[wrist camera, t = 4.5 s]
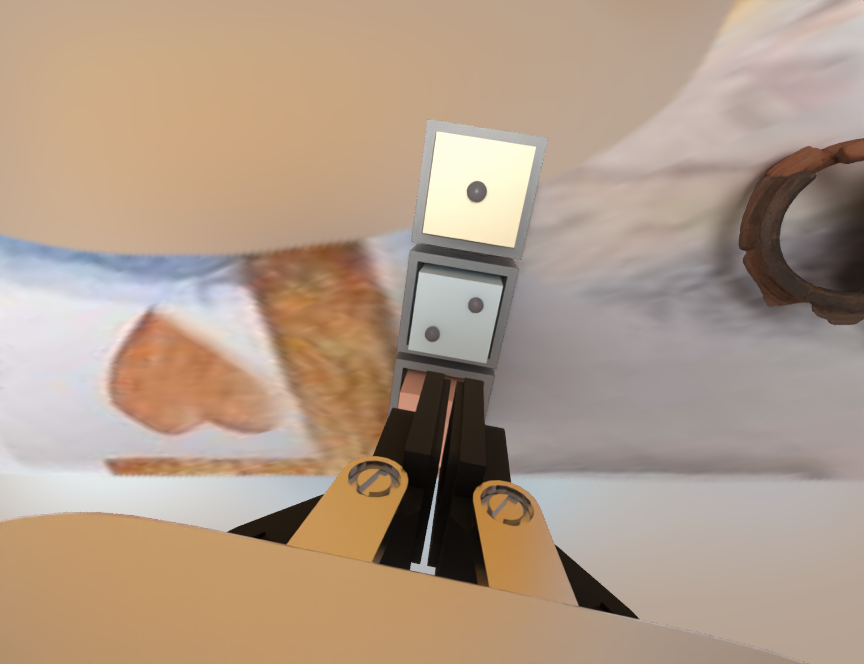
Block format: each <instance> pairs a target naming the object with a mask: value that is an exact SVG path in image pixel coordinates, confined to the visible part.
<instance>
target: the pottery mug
mask: <svg viewBox="0 0 864 664" xmlns="http://www.w3.org/2000/svg"><path fill="white" fill-rule="evenodd" d="M863 160H864V138H862V139H856V140H851V141H847V142H842V143H838V144H835V145H832V146H829V147H827V148H825V149H822V150H820V149H817V148H812V147H810V146H808V147H805V148H803V149H801V150H799V151H797V152H795V153H794V154H792V155H790V156H789V157H787V158H785V159H784V160H782V161H781V162H779V163H778V164H776V165H775V166H773V167H772V168H771V169H770V170H769V171H767V172H766V175H767V176H765V177H764V178H762V179H761V180H760V181H759V182H758V183H757V185H756V187H755V189H754V191H753V193H752V195H751V197H750V199H749V202H748V204H747V207H746V210H745V212H744V215H743V219H742V223H741V227H740V236H739V248H740V249H741V250H744V251H746V254H745V256H744V258H743V263H744V265H745V267H746V269H747V271H748V272H749V274H750V275H751V276H752V278H753V280H754V281H755V282H756V283H757V285H758V286H759V288H760V290H761V292H762V294H763V298H764V300H765V302H766V303H767V305H768V306H775V305H778V306H780V305H789V304H794V303H801V302H809V303H811V304H812V311H813V312H815V314H816V315H817V316H819V317H821V318H824V319H827V320H828V322H829V323H830V324H833V325H852V324H857V323H858V322H860V321H861V320H863V319H864V289H863V290H861V291H858V292H842V291H834V290H830V289H825V288H822V287H816V286H814V285H813V284H811V283H809V282H807V281H805V280H804V279H802V278H801V277H800V276H798V275H797V274H796V273H795V272H793V271H792V269H791V268H790V267H789V266H788V264H787V263H786V261H785V259H784V257H783V254H782V251H781V248H780V239H779V236H780V229H781V224H782V221H783V218H784V215H785V213H786V211H787V209H788V207H789V206H790V204H791V203H792V201H793V200H794V199H795V198H796V196H797V195H798V194H799V193H800V192H801V191H802V190H803V189H804V188H805V187H806V186H807V185H809V184H810V183H811V182H812V181H813V180H814V179H815V178H816V174H815V173H816V172H818V171H820V170H822V169H824V168H826V167H828V166H831V165H834V164H837V163H843V164H850V163H854V162H858V161H863Z"/></svg>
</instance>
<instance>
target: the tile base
mask: <svg viewBox="0 0 864 664" xmlns="http://www.w3.org/2000/svg"><path fill="white" fill-rule="evenodd" d="M407 368H408V369H414V370H419V371H425V372H427V370H428V371H433V372H439V373H444V374H445V375H447V376H453V377H458V378H464V379H465V377H466V378H471V379H477V380H482V381H483V390H484V418H485V416H486V412H487V408H488V403H489V399H490V394H491V390H492V385H493V381H494V377H495V376H494V368H490V367H484V366H478V365H473V364H467V363H462V362H456V361H450V360H445V359H439V358H434V357H428V356H422V355H417V354H411V353H405V352H400V351H399V353H398V355H397V357H396V361H395V368H394V376H393V384H392V391H391V399H390V406H389V414H388V417H389V415H390V412H391V410H392V408H398V404H399V397H400V391H401V388H402V386H403V383H404V380H405V377H406V375H407Z"/></svg>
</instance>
